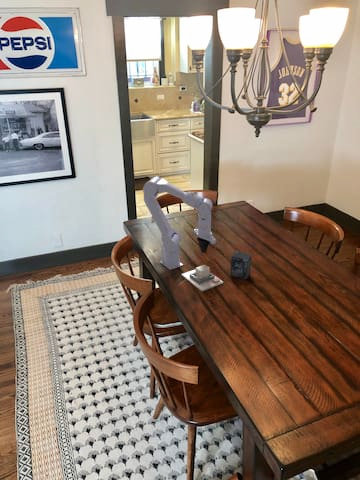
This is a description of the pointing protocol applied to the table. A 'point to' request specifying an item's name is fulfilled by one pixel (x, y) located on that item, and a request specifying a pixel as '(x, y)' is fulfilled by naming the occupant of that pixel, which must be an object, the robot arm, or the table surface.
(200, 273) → the plug
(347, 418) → the table surface
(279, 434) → the table surface
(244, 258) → the box
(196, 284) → the socket plate
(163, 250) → the robot arm
